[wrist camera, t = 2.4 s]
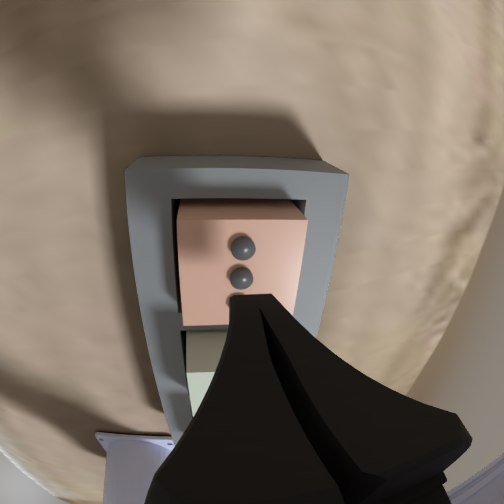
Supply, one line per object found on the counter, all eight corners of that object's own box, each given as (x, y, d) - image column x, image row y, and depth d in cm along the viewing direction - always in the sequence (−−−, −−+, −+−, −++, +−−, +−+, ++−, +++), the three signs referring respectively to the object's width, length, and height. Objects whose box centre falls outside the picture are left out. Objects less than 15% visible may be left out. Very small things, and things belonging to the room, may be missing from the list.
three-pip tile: (272, 274, 17) (293, 323, 13) (185, 277, 16) (183, 328, 12) (281, 190, 15) (309, 222, 11) (182, 189, 14) (176, 222, 10)
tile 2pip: (266, 369, 19) (280, 422, 15) (192, 373, 18) (194, 428, 14) (274, 312, 17) (294, 368, 13) (186, 316, 16) (186, 376, 12)
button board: (277, 412, 24) (285, 439, 22) (174, 418, 23) (175, 448, 20) (323, 160, 15) (349, 174, 12) (139, 157, 13) (124, 170, 11)
